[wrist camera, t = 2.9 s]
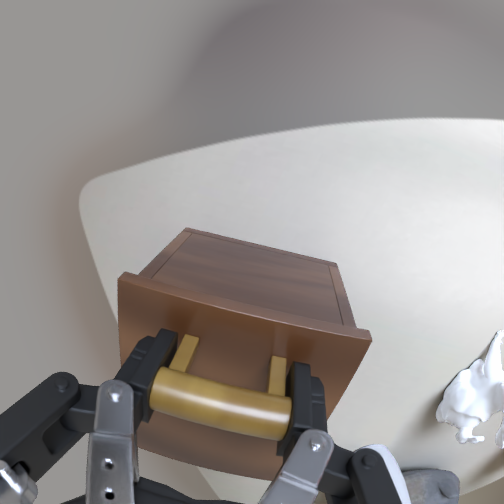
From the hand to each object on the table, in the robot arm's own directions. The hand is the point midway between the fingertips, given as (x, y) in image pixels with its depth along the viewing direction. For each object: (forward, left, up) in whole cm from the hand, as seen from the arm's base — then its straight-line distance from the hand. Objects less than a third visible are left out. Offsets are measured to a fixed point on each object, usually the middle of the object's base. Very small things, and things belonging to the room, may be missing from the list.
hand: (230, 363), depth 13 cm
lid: (+5, 0, -2) cm, 5 cm away
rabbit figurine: (+8, +27, -12) cm, 30 cm away
